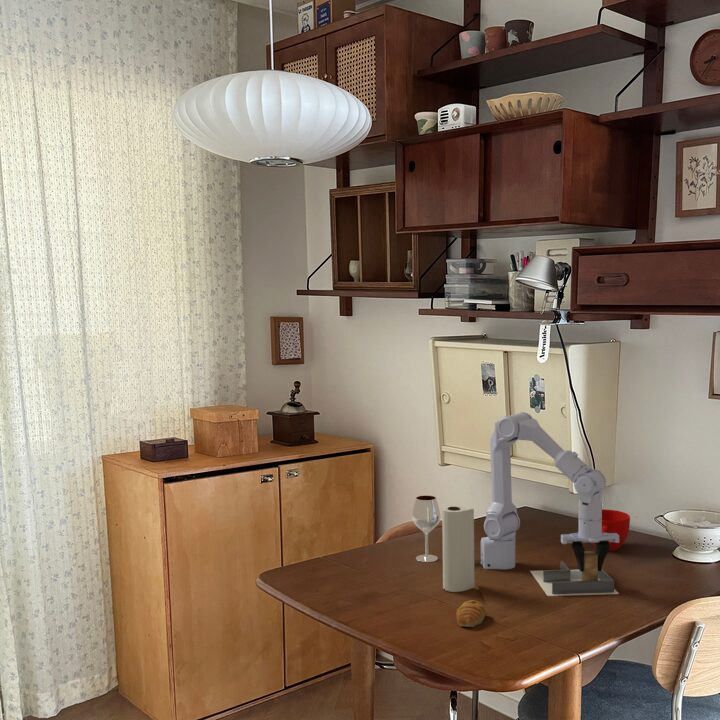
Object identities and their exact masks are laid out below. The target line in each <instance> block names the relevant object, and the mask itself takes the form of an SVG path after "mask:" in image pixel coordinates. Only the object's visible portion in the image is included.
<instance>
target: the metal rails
mask: <svg viewBox="0 0 720 720" xmlns="http://www.w3.org/2000/svg"><path fill="white" fill-rule="evenodd" d="M559 563H560V565H559V569H547V570H546V569H545V570H542V571H543V582H552V594H581V593H614V589H615V580H614V579H613V578H612V577H611V576H610V575H609V574H608V573H607V572H606V571H605V570H604V569H603V568H602V569H601V571H598V578H599V579H600V580H599V581H570V570H571V569H570V568H569V566H567V564H566V563H565V561H563V560H560V562H559Z"/></svg>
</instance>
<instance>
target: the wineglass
mask: <svg viewBox="0 0 720 720" xmlns="http://www.w3.org/2000/svg"><path fill="white" fill-rule="evenodd" d="M411 518H412V523H414V525H415V526H416V527H417V528H418V530H420V531H422V532H423V535H424V540H425V541H424V543H425V545H424V546H425V547H424V549H425V550H424V551H425V552H424V554H420V555H417V556H416V557H415V559H416V561H417V562H420V561H421V563H434V562H436V561H438V560H439V557H438V556H436V555H433V554H429V534H430V532H432V531H433V530H434V529H435V528H436V527H437V526H438V525H439V523H440V521H441V511H440V508H439V504H438V499H437V497H436V496H433V495H418V496H416V498H415V502H414V505H413V509H412V515H411Z"/></svg>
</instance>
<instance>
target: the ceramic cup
mask: <svg viewBox="0 0 720 720" xmlns="http://www.w3.org/2000/svg"><path fill="white" fill-rule="evenodd" d="M630 523H631V516H630V515H629V513H626V512H624V511H619V510H615V509H604V508H602V533H617V534H618V535H619V543H615V542H609V544H610V550H609V551H608V552H615V551H617V550H619V549H620V548H621V547H622V545H624V543H625V542H626V540H627V538H628V536H629V531H630V525H631V524H630ZM592 545H593V546H594V547H595V548H596V545H595V543H592Z"/></svg>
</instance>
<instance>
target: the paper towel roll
mask: <svg viewBox="0 0 720 720" xmlns="http://www.w3.org/2000/svg"><path fill="white" fill-rule="evenodd" d="M441 514H442V515H441V518H442V522H441V524H442V530H441V531H442V588H443V590H444V589H445V590H444V591H447V592H450V593H460V592H465V591H468V590H471V589H475V509H474V508H470V509H466V507H463V506H458V505H449V506H444V507H442V508H441Z"/></svg>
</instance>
